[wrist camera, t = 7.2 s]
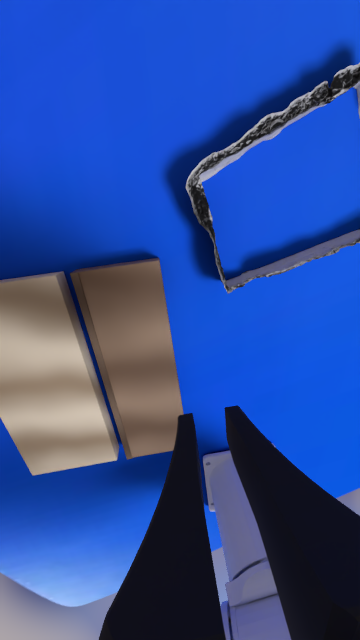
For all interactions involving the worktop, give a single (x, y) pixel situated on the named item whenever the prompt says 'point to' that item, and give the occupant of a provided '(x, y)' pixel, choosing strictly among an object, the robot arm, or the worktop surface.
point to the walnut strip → (133, 351)
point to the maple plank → (50, 378)
